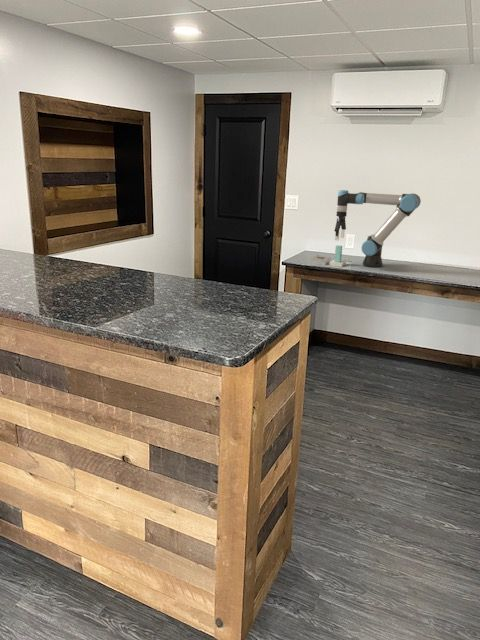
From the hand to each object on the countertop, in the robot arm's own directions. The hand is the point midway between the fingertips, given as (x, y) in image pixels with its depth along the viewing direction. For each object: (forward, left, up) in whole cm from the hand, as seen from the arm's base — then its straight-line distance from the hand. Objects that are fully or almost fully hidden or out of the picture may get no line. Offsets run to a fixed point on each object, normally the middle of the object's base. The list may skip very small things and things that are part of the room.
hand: (339, 239), depth 390 cm
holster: (0, 0, -20) cm, 20 cm away
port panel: (+14, 0, -20) cm, 25 cm away
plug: (0, 0, -20) cm, 20 cm away
